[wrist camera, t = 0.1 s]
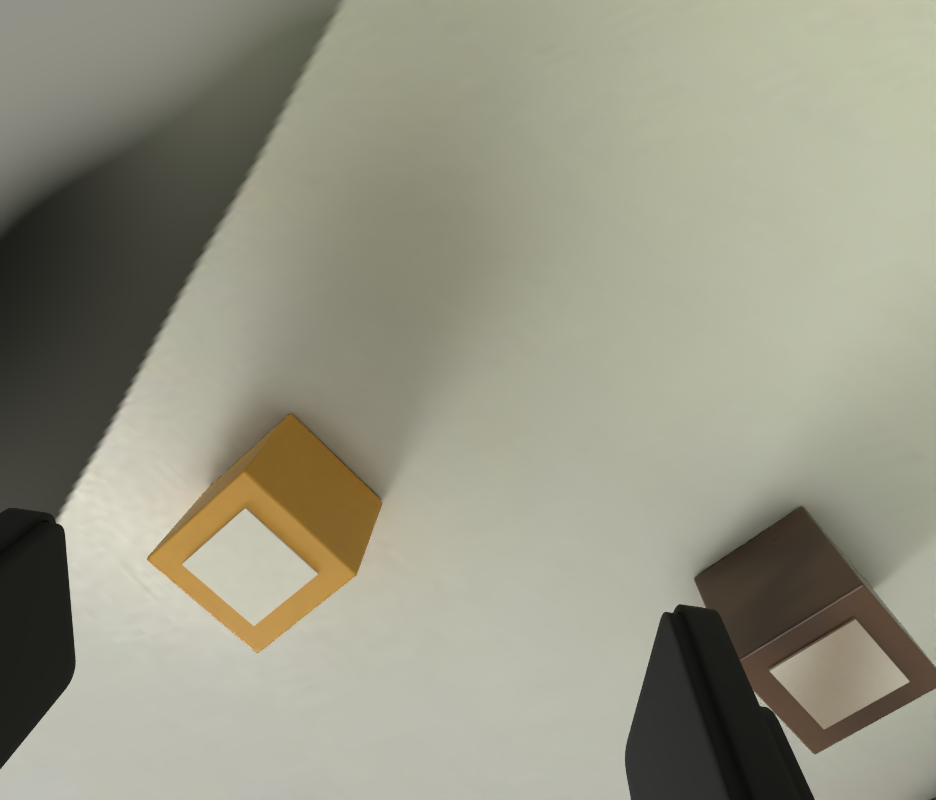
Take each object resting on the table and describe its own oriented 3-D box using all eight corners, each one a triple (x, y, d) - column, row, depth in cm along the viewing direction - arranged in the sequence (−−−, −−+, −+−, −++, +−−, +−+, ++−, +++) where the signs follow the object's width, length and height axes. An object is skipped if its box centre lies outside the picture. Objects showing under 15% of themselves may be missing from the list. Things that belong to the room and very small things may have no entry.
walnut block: (802, 505, 27) (865, 585, 22) (874, 590, 28) (950, 684, 23) (692, 578, 28) (730, 668, 23) (766, 656, 29) (815, 758, 24)
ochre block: (291, 411, 26) (242, 471, 22) (383, 501, 28) (357, 577, 23) (206, 489, 28) (143, 561, 23) (298, 571, 29) (256, 656, 24)
